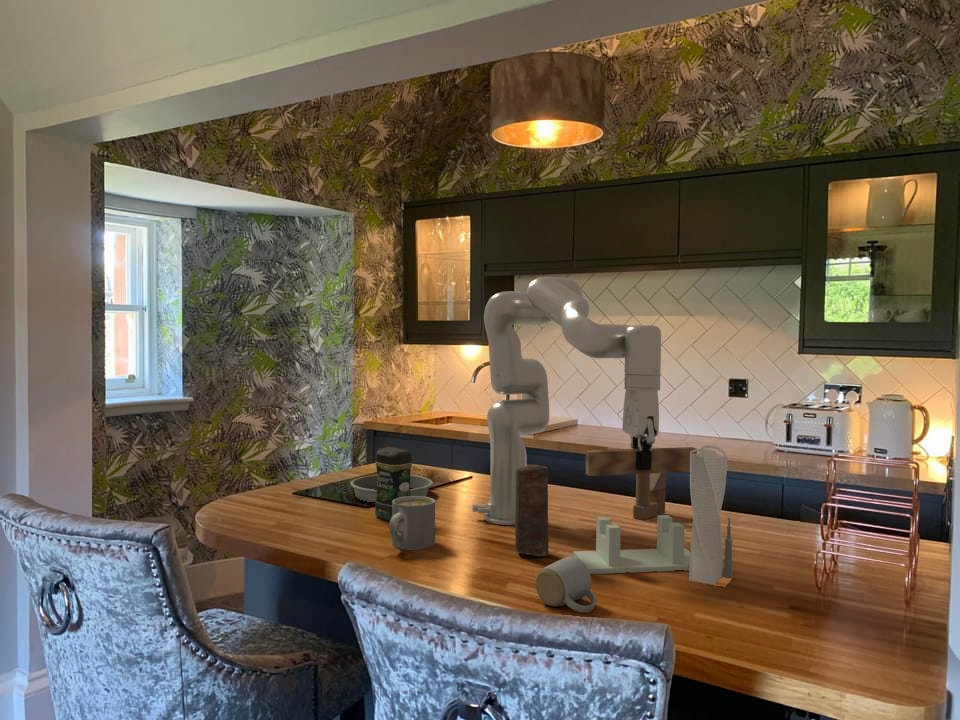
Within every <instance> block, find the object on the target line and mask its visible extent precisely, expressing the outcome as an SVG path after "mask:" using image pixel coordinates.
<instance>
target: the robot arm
mask: <svg viewBox="0 0 960 720" xmlns="http://www.w3.org/2000/svg"><path fill="white" fill-rule="evenodd" d="M589 313H590V304H589V302H588V301H587V299H586V298H585V297H584V296H583V291H582V288H581V286H580V285H579V283H578V282H577V281H575V280H574V279H572V278H568V277H559V276H539V277H536V278H535V279H533V280H532V281H530V283H529V284H528V286H527V288H526V292H525V291H512V290H511V291H510V290H509V291H501V292H497V293H495V294H494V295H492V296H490V298H489V299H488V301H487V303H486V304H485V308H484V313H483V314H484V315H483V321H484V322H483V323H484V328H485V332H486V336H487V342H488V356H489V357H488V358H489V375H490V383H491V387H492V389H493V391H494V392H495V393H497V394H499V395H505V396H506V395H521V398H520V399H519V398H518V399H504V400H499V401H496V402H494V403H493V404H492V405H491V406H490V408H489V409H488V410H487V413H486V418H487V419H486V422H487V427H488V433H489V442H490V472H489V473H490V482H489V483H490V484H489V485H490V487H489V488H490V489H489V492H490V493H489V500H487V503H486V502H484V503H483V504H472V505H471V506H472V508H471V511H472V513H478V514H484V515H483V519H484V520H485V521H486V522H488V523H491V524H494V525H501V526H516V468H520V467H526V466H527V465H528V463H527V459H528V458H527V450H526V446H525V445H524V442H523V440H522V439H521V436H525V435H535V434H539V433H542V432H544V431H545V430H546V429H547V427H548V424H549V422H550V401H549V399H550V398H549V383H548V375H547V371H546V369H545V367H544V365H543V364H542V363H541V362H540V361H539V360H537V359H535V358H527V357H526V358H523V355H522V343H521V340H520V339H521V338H520V336H519V335H518V333H517V332H516V329H515V328H514V327H513V325H526V326H527V325H531V326H532V325H534V326H535V325H536V326H538V325H539V326H540V325H544V324H548V323H550V322H552V321H553V322H555V323H556V324H557V325H559V327H561V332H562V335H563V337H564V339H565V340H566V342H568V344H569V345H570V346H572V347H574V348H575V349H576V350H577V351H579V352H580V353H582V354H583V355H585V356H587V357H590V358H594V359H624V387H623V388H624V390H625V393H624V399H623V400H624V401H623V410H622V411H623V412H622V414H623V415H622V431H623V432H624V433H625V434H627V435H628V436H629V437H630V449H638V451H636V469H637V470H650V469H651V454H652V448H653V444H654V443H656V437H657V436H659V430H660V407H659V406H660V405H659V393H658V391H661V370H662V369H661V368H662V367H661V365H662V363H661V361H662V359H661V358H662V331H661V328H660V327H659V326H656V325H649V324H648V325H646V324H642V325H641V324H637V325H631V324H630V325H629V324H628V325H627V324H617V323H616V324H614V323H613V324H612V323H611V324H610V323H597V322H595V321H593V320H591V319H590V318H588V316H589Z"/></svg>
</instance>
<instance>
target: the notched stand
mask: <svg viewBox="0 0 960 720" xmlns="http://www.w3.org/2000/svg"><path fill="white" fill-rule="evenodd" d="M656 518H657V519H656V520H657V521H656V522H657V523H656V527H657V528H656V548H645V549H644V548H643V549H640V548H639V549H637V548H636V549H621V526H619V525H618V524H616V523H615V524H612V520H611V518H610V517H608V516H597V517H596V529H595V530H596V533H595V535H596V536H595V537H596V538H595V540H596V541H595V550H580V551H579V550H578V551H577V550H576V551H574V550H573V551H572V556H573V557H576V558H578V559H580V560H581V561H582V562H583V563H584V564H585V565H586V567H587V569H588V570H589V573H590V575H595V574H596V575H597V574H623V573H624V574H625V573H626V572H629V573H649V572H650V573H651V572H652V571H653V573H654V571H657V572H676V571H675V570H684V571H689V570H690V550H688V549H687V548H685V527H686V526H685V525H684V524H682V523H681V522H673V517H671V516H670V515H668V514H666V515H665V514H662V515H657V516H656Z"/></svg>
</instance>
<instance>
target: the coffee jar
mask: <svg viewBox="0 0 960 720" xmlns="http://www.w3.org/2000/svg"><path fill="white" fill-rule="evenodd" d="M375 455H376V456H375V468H376V475H377V492H376V503H374V505H375V507H374V508H375V509H374V513H375V514H374V515H375V516H376V517H377V518H380V519H382V520H387V521H390V520H391V518H392V501H393V500H394V499H396V498H400V497H407V496H411V490H410V475H411V470H412V466H413V458H412V457H413V456H412V453H411V451H409V450H408V449H401V448H398V447H391V446H388V447H380V448H378V450H377V451H376V454H375Z"/></svg>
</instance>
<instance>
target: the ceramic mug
mask: <svg viewBox="0 0 960 720" xmlns="http://www.w3.org/2000/svg"><path fill="white" fill-rule="evenodd" d="M591 588H592V577H591V574H590V573H589V570H588V569H587V567H586V565H585V564H584V563H583V562H582V561H581V560H580V559H578V558H576V557H573V555H570V556H565V557H563V558H561V559H559V560H556V561H555V562H552V563H550V564H549V565H546V566H545V567H543V568H542V569H541V570H539V572H538V573H537V574H536V577H535V589H536V593H537V596H538V597H539V598H540V600H541V601H542V602H543V603H544V604H546V606H547V605H548V606H549V607H562V606H564V605H566V606H567V607H568V608H570V609H572V611H575V612H578V613H581V614H582V613H583V614H586V613H591V612H592V611H593V610H594V609H595V606H596V603H597V600H596V596H595V594H594V592H593V591H592V590H591ZM585 597H586V598H588V600H589V601H590V602H591V604H590V605H582V604H579V603H577V602H576V601H578V600H581V599H583V598H585Z"/></svg>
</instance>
